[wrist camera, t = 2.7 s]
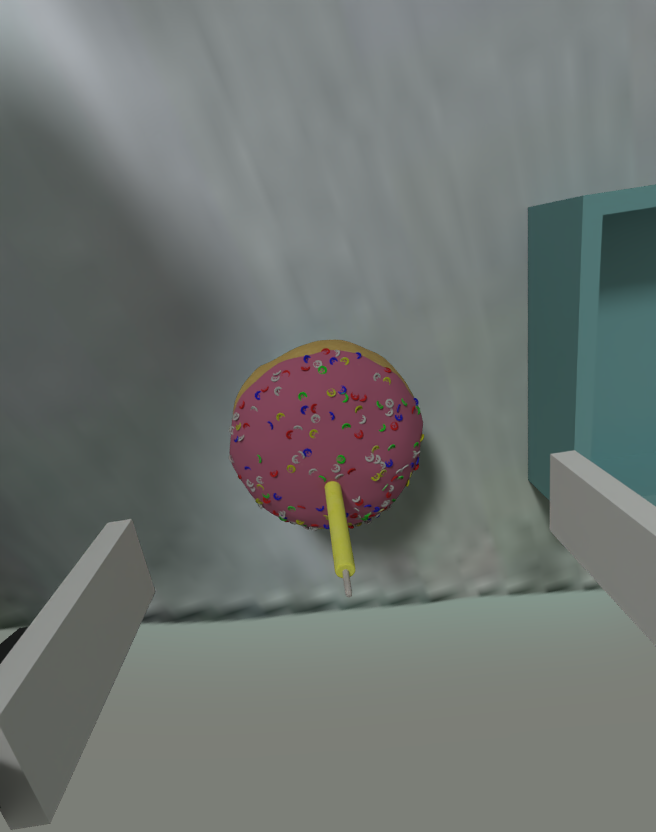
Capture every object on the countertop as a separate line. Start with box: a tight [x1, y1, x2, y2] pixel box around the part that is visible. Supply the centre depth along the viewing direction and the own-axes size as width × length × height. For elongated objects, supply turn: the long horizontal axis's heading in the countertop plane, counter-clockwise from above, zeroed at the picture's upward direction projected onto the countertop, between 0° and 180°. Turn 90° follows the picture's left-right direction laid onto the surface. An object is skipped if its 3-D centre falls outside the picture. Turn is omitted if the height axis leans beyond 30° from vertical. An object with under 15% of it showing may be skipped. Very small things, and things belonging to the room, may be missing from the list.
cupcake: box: [229, 340, 424, 597], centre depth 19 cm, size 9×8×12 cm
